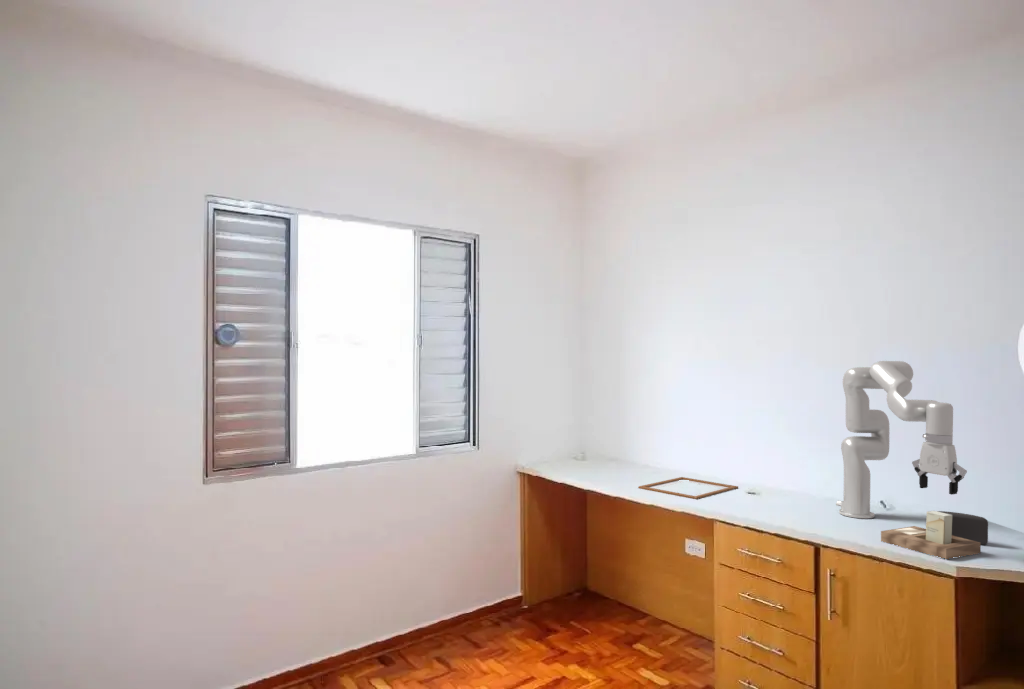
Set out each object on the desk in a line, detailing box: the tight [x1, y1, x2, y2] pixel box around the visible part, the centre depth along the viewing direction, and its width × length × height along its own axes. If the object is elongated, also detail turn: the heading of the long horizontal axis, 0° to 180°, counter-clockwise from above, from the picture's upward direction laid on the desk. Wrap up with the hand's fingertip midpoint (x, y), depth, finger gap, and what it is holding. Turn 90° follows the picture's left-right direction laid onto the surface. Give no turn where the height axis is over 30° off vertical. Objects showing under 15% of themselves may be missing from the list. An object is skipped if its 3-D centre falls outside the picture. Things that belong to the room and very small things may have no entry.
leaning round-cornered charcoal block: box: [937, 510, 989, 546], centre depth 229 cm, size 16×5×9 cm, turn 52°
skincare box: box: [925, 510, 952, 545], centre depth 217 cm, size 6×4×12 cm
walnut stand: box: [880, 525, 982, 560], centre depth 220 cm, size 22×18×4 cm
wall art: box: [637, 476, 739, 500], centre depth 312 cm, size 31×2×38 cm
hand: (938, 490), depth 218 cm, fingers open, 9 cm apart
